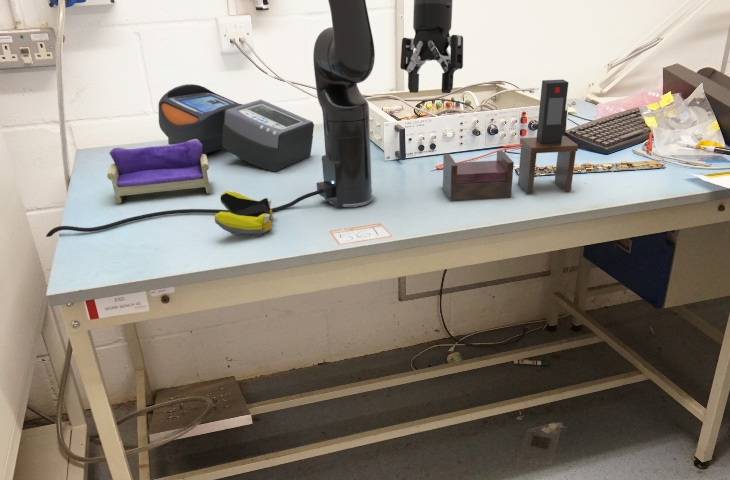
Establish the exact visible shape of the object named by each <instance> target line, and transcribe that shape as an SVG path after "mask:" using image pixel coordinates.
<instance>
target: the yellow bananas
mask: <svg viewBox="0 0 730 480" xmlns="http://www.w3.org/2000/svg"><path fill="white" fill-rule="evenodd" d="M220 203H221V205H222V206H224V207H225V210H228V211H229V212H219V213H215V215H214V222H215V224H216V225H217V226H218V227H220V229H222V230H224V231H225V232H228V233H230V234H231V235H249V236H250V237H253V238H254V237H256V238H257V237H260V236H262V235H263V234H265V233H267V232H269V230H272V229H273V226H272V219H273V218H274V217H273V212H272V210H271V209H272V208H271V205H272V198H268V197H264V198H262V199H260V200H255V199H252V198H251V197H247V196H245V195H243V194H240V193H239V192H236V191H230V190H225V192H222V193H221V194H220Z"/></svg>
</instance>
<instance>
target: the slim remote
mask: <svg viewBox="0 0 730 480" xmlns="http://www.w3.org/2000/svg"><path fill="white" fill-rule="evenodd" d="M540 88H541V89H540V100H539V108H538V109H539V110H538V121H537V129H536V137H537V139H536V140H537V141H538V142H539V143H540V144H551V143H561V142H562V136H563V132H564V124H565V118H566V117H565V116H566V115H565V114H566V108H567V107H566V106H567V99H568V92H569V91H568V90H569V81H567V80H565V79H544V80H543V79H542V80H541V87H540Z"/></svg>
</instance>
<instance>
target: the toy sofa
mask: <svg viewBox="0 0 730 480" xmlns="http://www.w3.org/2000/svg"><path fill="white" fill-rule="evenodd" d="M201 154H202V144H201V143H200V142H199V140H197V139H193V140H190V141H187V142H183V143H179V144H172V145H169V144H166V145H165V144H164V145H157V146H156V145H155V146H146V147H138V148H127V147H126V148H125V147H121V146H114V147H113V149H111V150H110V151H109V156H110V157H111V159H112V161H113V163H111V164H110V166H109V167H108V172H107V174H106V177H107V179H108V180H109V181H110V180H111V184H112V187H113V192H114V196H115V200H116V204H121V203H122V202H123V199H124V196H131V195H142V194H150V193H160V192H170V191H171V192H172V191H180V190H188V189H198V188H199V189H200V188H205V192H206V194H211V192H212V191H211V185H210V181H209V175H208V170H209V169H210V166H209V161H208V155H207V154H202V155H201Z"/></svg>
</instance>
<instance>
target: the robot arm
mask: <svg viewBox="0 0 730 480" xmlns="http://www.w3.org/2000/svg"><path fill="white" fill-rule="evenodd" d="M327 1H328V4H329V10H330V17H331V24H332V26H331V27H330V26H329V27H327V28H324V29H322V31H320V33H319V34H318V36H317V37H316V39H315V41H314V45H313V55H312V56H313V72H314V81H315V87H316V88H315V89H316V94H317V95H316V96H317V101H318V104H319V107H320V108H321V112H322V123H323V124H322V125H323V138H324V151H325V152H324V153H325V155H322V156H321V164H322V176H323V177H322V178H323V181H319V182H316V190H314V191H311V192H308V193H306V194H303V195H302V196H298V197H297V198H296V199H294V200H292V201H290V202H288V203H286V204H282V205H280V206H275V207H273V208H271V210H272V213H275V212H279V211H282V210H285V209H287V208H291V207H293V206H294V205H296V204H298V203H300V202H301V201H304V200H306V199H308V198H311V197H314V196H317V195H319V196H320V197H321V198H324V201H325V202H326V203H329V204H330V205H332V206H333V207H335V208H336V209H341V208H359V207H362V206H366V205H368V204H371V203H372V202H373V199H374V198H373V187H372V186H373V185H372V184H373V183H372V163H371V162H372V155H371V132H370V131H371V129H370V126H371V125H370V106H369V101H368V100H367V99H366V97H364V96H363V95H362V93H361V91H360V89H359V86H358V84H361V83H363V82H365V81H366V80H367V79H368V78H369V76H370V75H371V74H372V71H373V69H374V66H375V59H376V50H375V42H374V37H373V32H372V27H371V22H370V17H369V11H368V5H367V1H366V0H327ZM412 16H413V17H412V18H413V19H412V21H413V22H412V26H413V27H412V28H413V30H414V33H415V34H414V38H412V37H403V38H402V39H401V51H400V64H399V65H400V69H401V70H404V71H405V72H407V89H408V92H409V93H410V94H417V93H419V89H420V88H419V87H420V82H419V81H420V73H419V71H420V70H421V68H422V67H423V65H424V64H426V62H431V61H437V63H438V64H439V66H440V67H441V69H442V71H443V72H442V73H441V93H442V94H451V92H452V90H453V88H454V74H455V72H456V71H457V70H461V69H463V67H464V36H463V35H460V34H451V35H450V31H451V30H452V20H453V0H413V15H412ZM448 48H450V51H449V50H448ZM414 49H415V50H414ZM219 212H229V211H228V210H227V209H216V208H183V209H182V208H181V209H170V210H163V211H162V210H161V211H157V212H155V211H154V212H150V213H145V214H142V215H136V216H132V217H131V216H130V217H127V218H123V219H120V220H118V221H114V222H110V223H107V224H104V225H99V226H93V227H80V226H72V225H59V226H56V227H53V228H52V229H50V230H49V231H48V232H47V234H46V235H45V237H46V238H50V237H52V236H53V235H55V234H56V233H57V232H61V231H74V232H82V233H83V232H84V233H92V232H98V231H99V232H100V231H103V230H107V229H111V228H115V227H117V226H121V225H125V224H127V223H131V222H135V221H140V220H144V219H145V220H146V219H150V218H155V217H161V216H169V215H178V214H217V213H219Z"/></svg>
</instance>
